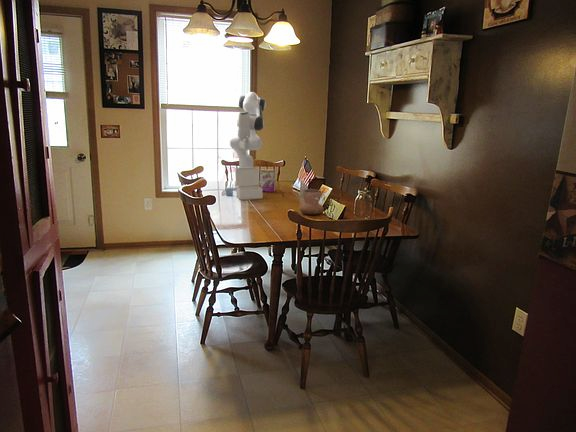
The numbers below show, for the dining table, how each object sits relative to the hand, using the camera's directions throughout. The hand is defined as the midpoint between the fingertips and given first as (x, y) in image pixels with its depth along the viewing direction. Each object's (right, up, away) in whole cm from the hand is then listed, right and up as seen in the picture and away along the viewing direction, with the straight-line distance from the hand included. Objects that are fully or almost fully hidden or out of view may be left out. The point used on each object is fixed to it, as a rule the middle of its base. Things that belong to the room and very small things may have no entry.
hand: (244, 154), depth 316 cm
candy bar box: (+16, -26, +16) cm, 34 cm away
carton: (+4, -31, -7) cm, 32 cm away
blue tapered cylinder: (-11, -29, +1) cm, 31 cm away
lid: (+3, -16, -6) cm, 18 cm away
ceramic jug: (+45, -43, -48) cm, 79 cm away
